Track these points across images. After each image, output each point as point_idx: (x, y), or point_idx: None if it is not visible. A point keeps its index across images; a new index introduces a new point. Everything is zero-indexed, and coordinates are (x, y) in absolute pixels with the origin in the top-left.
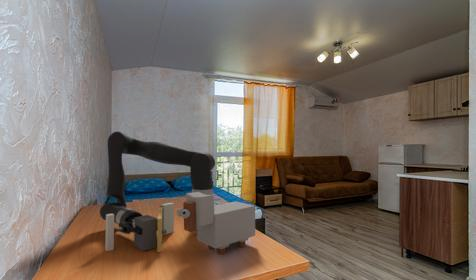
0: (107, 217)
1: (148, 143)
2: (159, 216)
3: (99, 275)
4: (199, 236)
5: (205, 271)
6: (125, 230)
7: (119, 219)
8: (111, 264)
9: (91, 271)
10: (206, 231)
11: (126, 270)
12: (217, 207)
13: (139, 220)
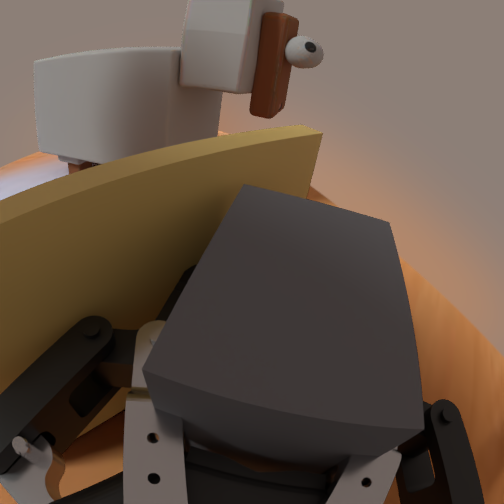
0: None
1: None
2: (272, 135)
3: (482, 334)
4: None
5: None
6: (424, 487)
7: None
8: (454, 374)
9: (500, 374)
10: (200, 116)
11: (422, 300)
12: (136, 48)
13: (400, 286)
